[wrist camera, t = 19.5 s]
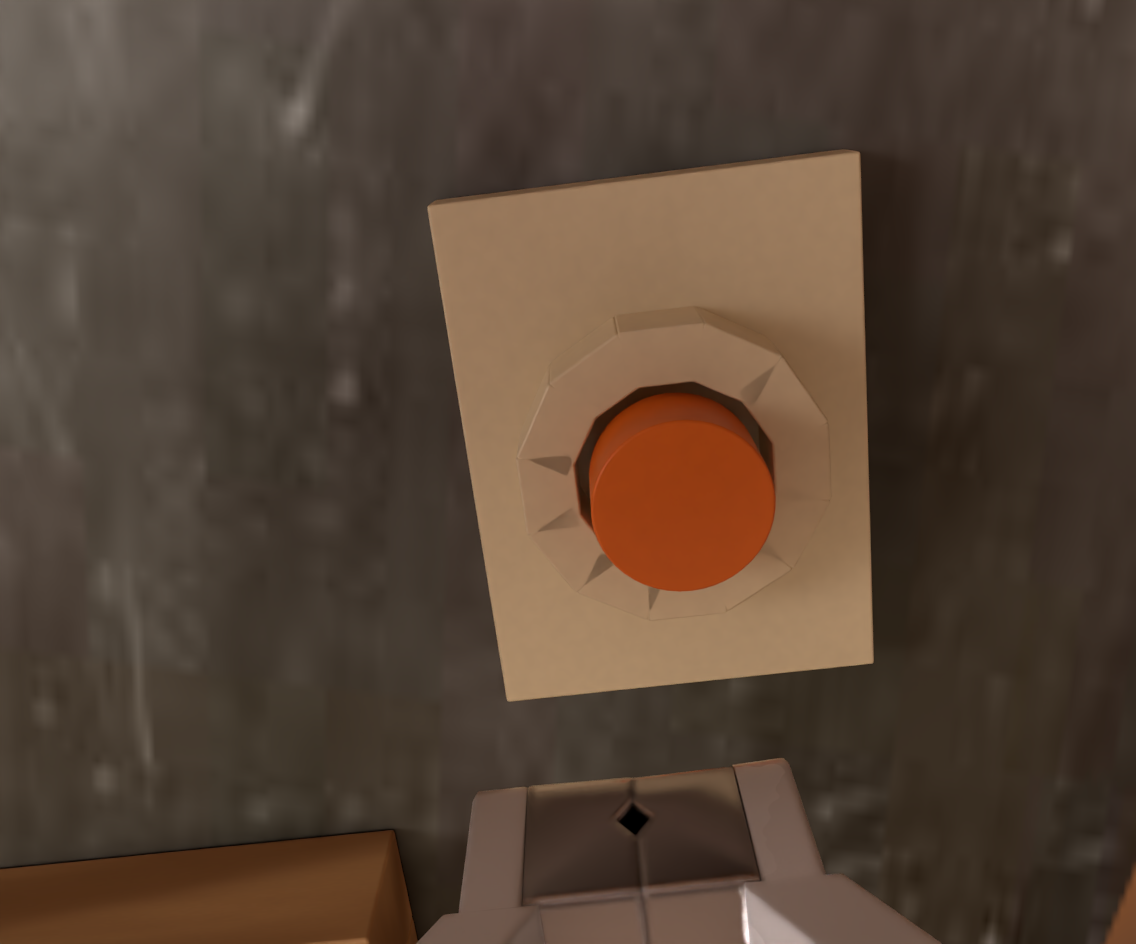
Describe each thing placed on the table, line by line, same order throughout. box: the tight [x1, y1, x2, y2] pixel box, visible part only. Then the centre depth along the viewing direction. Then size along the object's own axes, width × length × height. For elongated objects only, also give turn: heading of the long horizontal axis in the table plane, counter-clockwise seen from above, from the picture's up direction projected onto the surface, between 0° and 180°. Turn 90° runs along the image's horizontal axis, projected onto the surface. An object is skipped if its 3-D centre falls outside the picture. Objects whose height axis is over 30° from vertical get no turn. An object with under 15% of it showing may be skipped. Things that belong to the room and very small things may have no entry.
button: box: [589, 392, 776, 592], centre depth 21 cm, size 4×4×2 cm
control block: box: [427, 149, 874, 702], centre depth 23 cm, size 12×9×3 cm
